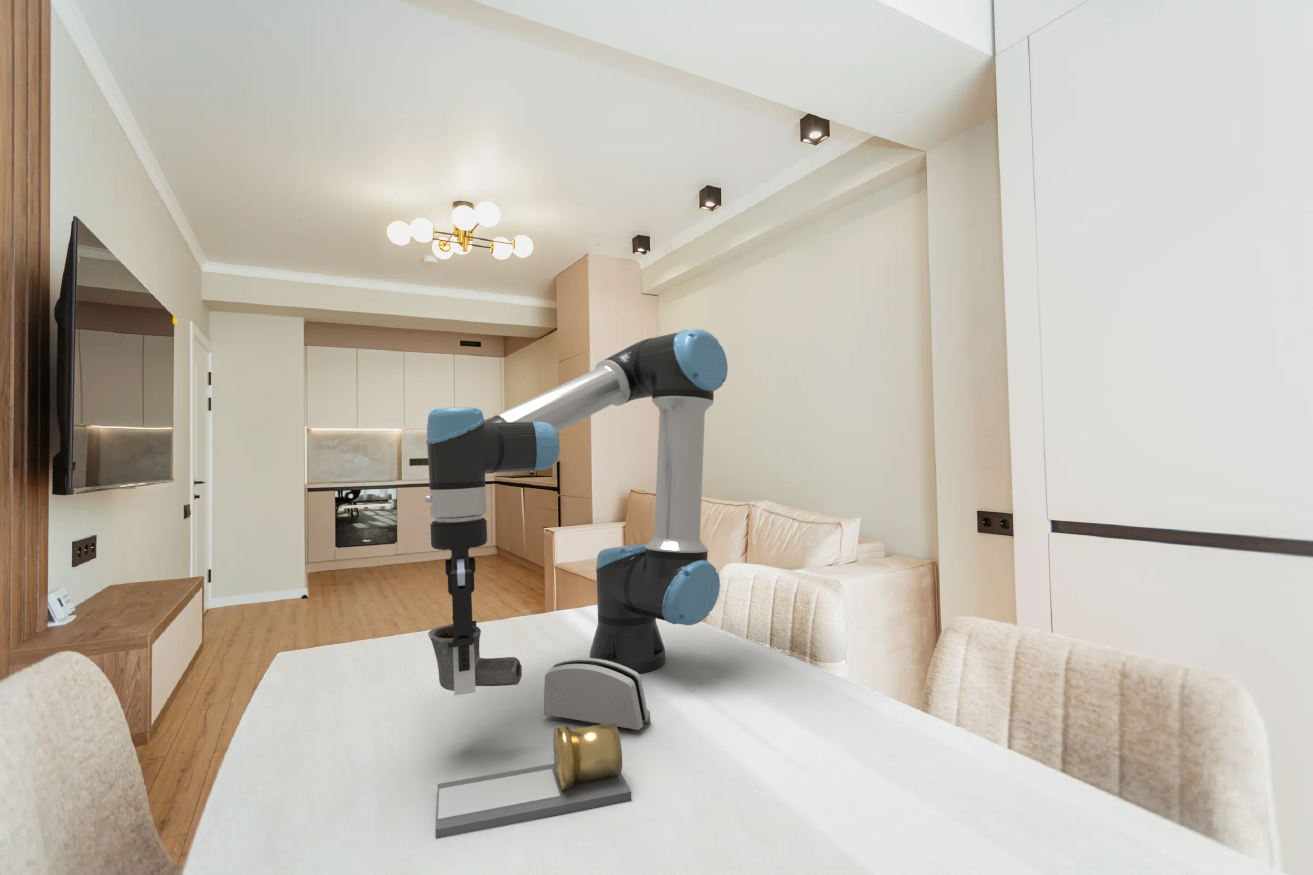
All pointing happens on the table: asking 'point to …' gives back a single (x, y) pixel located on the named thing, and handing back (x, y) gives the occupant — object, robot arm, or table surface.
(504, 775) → the base
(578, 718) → the grey napkin holder
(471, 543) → the robot arm
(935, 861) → the table surface
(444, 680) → the pipe
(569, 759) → the cylinder
